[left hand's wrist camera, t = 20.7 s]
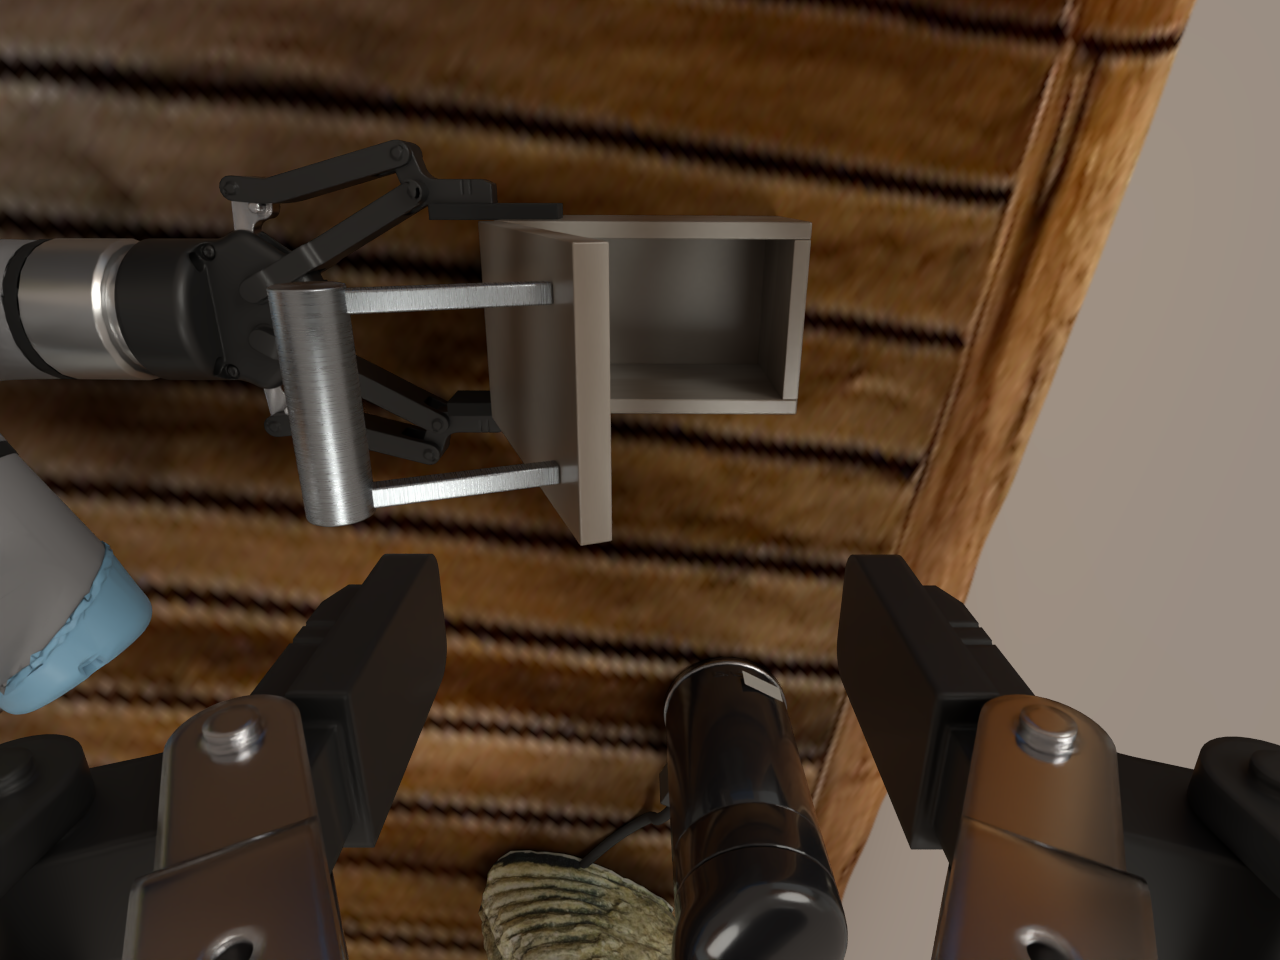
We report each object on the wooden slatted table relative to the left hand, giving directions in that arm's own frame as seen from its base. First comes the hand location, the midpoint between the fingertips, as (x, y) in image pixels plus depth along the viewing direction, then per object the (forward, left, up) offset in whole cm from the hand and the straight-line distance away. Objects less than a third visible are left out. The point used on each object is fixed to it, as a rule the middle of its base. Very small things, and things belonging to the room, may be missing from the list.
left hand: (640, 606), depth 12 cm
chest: (0, -1, -37) cm, 37 cm away
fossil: (-51, -7, -37) cm, 63 cm away
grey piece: (-1, +4, -20) cm, 20 cm away
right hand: (-1, +4, -31) cm, 31 cm away
